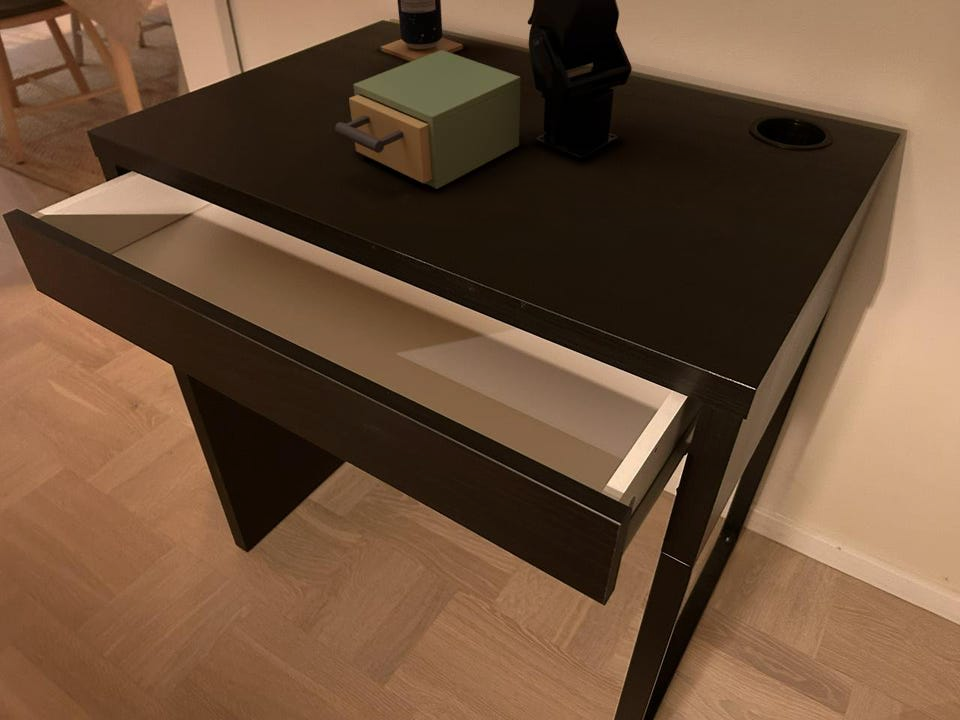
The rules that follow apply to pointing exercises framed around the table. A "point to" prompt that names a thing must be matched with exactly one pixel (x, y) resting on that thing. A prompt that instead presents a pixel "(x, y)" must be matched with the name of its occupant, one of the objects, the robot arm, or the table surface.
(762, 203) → the table surface
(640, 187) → the table surface
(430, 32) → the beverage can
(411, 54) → the coaster
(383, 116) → the drawer
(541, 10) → the robot arm
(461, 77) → the cabinet
